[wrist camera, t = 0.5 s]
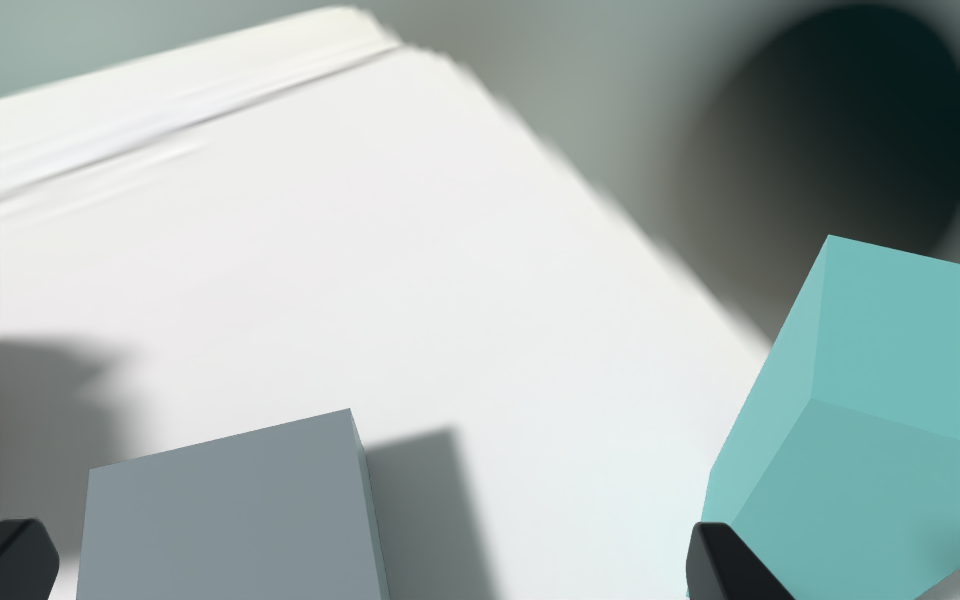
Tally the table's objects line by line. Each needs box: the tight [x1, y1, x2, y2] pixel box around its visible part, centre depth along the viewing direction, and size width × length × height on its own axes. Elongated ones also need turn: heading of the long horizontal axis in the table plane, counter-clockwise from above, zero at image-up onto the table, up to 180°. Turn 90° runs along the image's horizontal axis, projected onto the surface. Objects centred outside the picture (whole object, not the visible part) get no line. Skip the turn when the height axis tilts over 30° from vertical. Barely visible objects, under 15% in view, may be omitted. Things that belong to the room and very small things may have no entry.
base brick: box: [76, 408, 390, 600], centre depth 24 cm, size 9×9×4 cm
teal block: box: [686, 235, 960, 600], centre depth 20 cm, size 5×5×13 cm
